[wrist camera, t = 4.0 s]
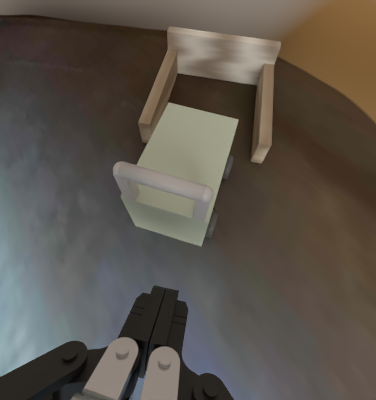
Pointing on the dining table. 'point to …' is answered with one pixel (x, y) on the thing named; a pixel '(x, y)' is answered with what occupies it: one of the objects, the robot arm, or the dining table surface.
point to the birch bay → (217, 76)
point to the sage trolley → (179, 174)
